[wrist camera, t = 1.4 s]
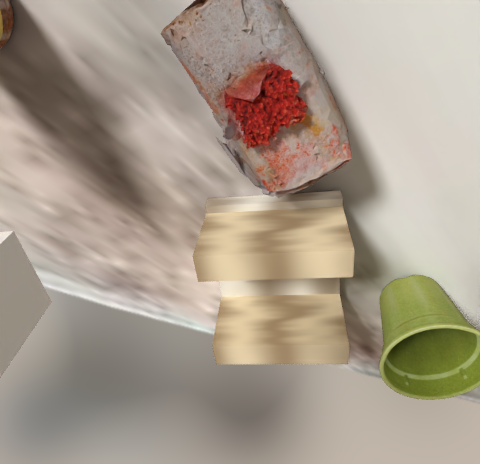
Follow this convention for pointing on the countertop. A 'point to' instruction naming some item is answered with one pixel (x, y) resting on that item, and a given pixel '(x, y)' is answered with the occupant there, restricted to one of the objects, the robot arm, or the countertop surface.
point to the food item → (262, 91)
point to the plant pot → (426, 341)
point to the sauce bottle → (5, 21)
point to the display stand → (277, 277)
